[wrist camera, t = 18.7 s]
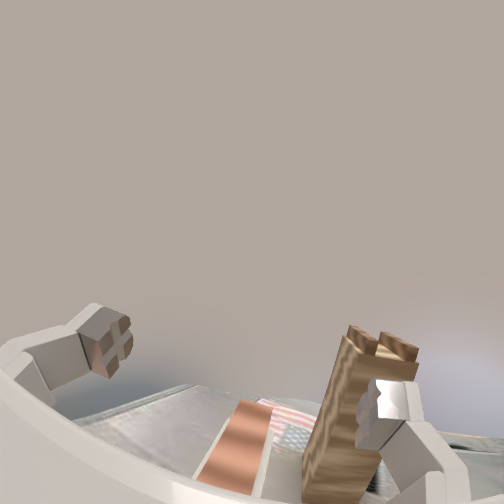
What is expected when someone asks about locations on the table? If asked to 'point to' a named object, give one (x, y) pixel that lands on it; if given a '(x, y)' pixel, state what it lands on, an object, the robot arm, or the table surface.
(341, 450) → the chute stand
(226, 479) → the bar
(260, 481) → the shelf
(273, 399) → the table surface
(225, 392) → the table surface
